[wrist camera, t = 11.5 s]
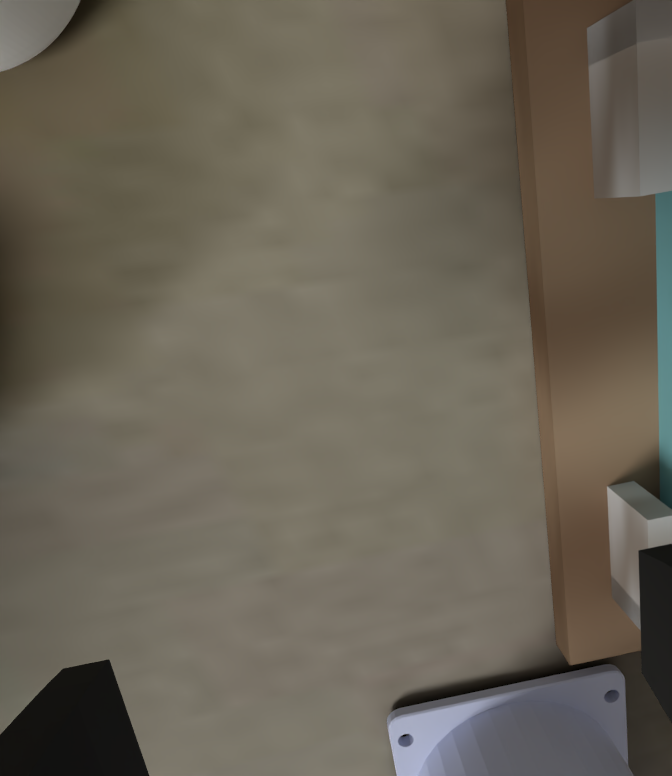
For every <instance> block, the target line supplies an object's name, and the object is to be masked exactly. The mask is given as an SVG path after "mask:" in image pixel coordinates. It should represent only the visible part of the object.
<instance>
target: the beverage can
mask: <svg viewBox="0 0 672 776" xmlns="http://www.w3.org/2000/svg"><path fill="white" fill-rule="evenodd" d="M79 3H80V0H0V72H2V71H5V70H8V69H11V68H14V67H16V66H18V65H20V64H22V63H25V62H26V61H28V60H30V59H32V58H33V57H35V56H36V55H38V54H39V53H40V52H42V51H43V50H44V49H45V48H47V47H48V46H49V45H50V44H51V43H52V42H53V41H54V40H55V39H56V38H57V37H58V36H59V35H60V33H61V32H62V31H63V30H64V28H65V27H66V26H67V24H68V23H69V21H70V20H71V18H72V16H73V15H74V13H75V11H76V9H77V7H78V5H79Z"/></svg>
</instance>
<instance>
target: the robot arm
mask: <svg viewBox="0 0 672 776" xmlns="http://www.w3.org/2000/svg"><path fill="white" fill-rule="evenodd" d="M638 554H639V589H640V624H641V659H642V674H643V675H644V677H645V679H646V681H647V682H648V684H649V686H650V687H651V689H652V691H653V692H654V694H655V696H656V697H657V699H658V701H659V702H660V704H661V706H662V707H663V709H664V711H665V712H666V714H667V716H668V717H669V719H670V720H671V722H672V544H667V545H662V546H658V547H653V548H648V549H643V550H638ZM610 690H611V691H610ZM608 691H610V692H608ZM607 692H608V693H607ZM387 726H388V732H389V737H390V742H391V748H392V753H393V758H394V764H395V769H396V775H397V776H634V775H633V773H632V772H631V770H630V768H629V767H628V744H627V718H626V692H625V678H624V675H623V674H622V673H621V671H620V670H619V669H618V668H617V667H616V666H615V665H612V664H605V665H600V666H595V667H590V668H586V669H581V670H576V671H572V672H567V673H562V674H557V675H553V676H548V677H543V678H539V679H534V680H529V681H525V682H520V683H515V684H510V685H506V686H501V687H496V688H492V689H487V690H482V691H477V692H473V693H468V694H463V695H459V696H454V697H449V698H444V699H440V700H435V701H430V702H426V703H421V704H416V705H412V706H407V707H402V708H398V709H396V710H394V711H392V712H391V713H390V714H389V716H388V718H387ZM404 734H409V735H407V736H405V737H400V736H402V735H404ZM0 776H149V774H148V771H147V768H146V765H145V762H144V759H143V756H142V753H141V751H140V748H139V745H138V742H137V739H136V736H135V733H134V730H133V727H132V724H131V721H130V719H129V716H128V713H127V710H126V707H125V704H124V701H123V698H122V695H121V692H120V690H119V687H118V684H117V681H116V678H115V675H114V672H113V669H112V666H111V663H110V661H109V660H104V661H99V662H94V663H89V664H84V665H79V666H75V667H70V668H65V669H62V670H61V671H60V672H59V673H58V674H57V675H56V676H55V677H54V678H53V679H52V680H51V681H50V682H49V683H48V684H47V685H46V686H45V687H44V688H43V689H42V690H41V691H40V693H39V694H38V695H37V696H36V697H35V698H34V699H33V700H32V701H31V702H30V703H29V704H28V705H27V706H26V707H25V709H24V710H23V711H22V712H21V713H20V714H19V715H18V716H17V717H16V718H15V719H14V720H13V722H12V723H11V724H10V725H9V726H8V727H7V728H6V729H5V730H4V731H3V732H2V734H1V735H0Z"/></svg>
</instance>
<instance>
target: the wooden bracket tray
mask: <svg viewBox="0 0 672 776" xmlns="http://www.w3.org/2000/svg"><path fill="white" fill-rule="evenodd" d="M506 8H507V21H508V33H509V46H510V59H511V72H512V85H513V97H514V110H515V123H516V136H517V148H518V161H519V174H520V187H521V199H522V212H523V225H524V238H525V251H526V263H527V276H528V289H529V302H530V314H531V327H532V340H533V353H534V366H535V378H536V391H537V404H538V417H539V429H540V442H541V455H542V468H543V480H544V493H545V506H546V519H547V532H548V544H549V557H550V570H551V583H552V595H553V608H554V621H555V634H556V644H557V646H558V647H559V649H560V650H561V652H562V654H563V655H564V657H565V658H566V660H567V661H568V663H569V664H570V665H575V664H580V663H585V662H589V661H594V660H599V659H603V658H608V657H613V656H618V655H622V654H627V653H632V652H636V651H641V624H640V589H639V554H638V550H643V549H648V548H653V547H658V546H662V545H667V544H672V509H670V508H669V507H668V506H666V505H665V504H664V503H662V502H661V501H660V467H659V401H658V335H657V269H656V203H655V194H656V193H662V192H667V191H672V0H506Z"/></svg>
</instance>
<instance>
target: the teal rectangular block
mask: <svg viewBox="0 0 672 776" xmlns="http://www.w3.org/2000/svg"><path fill="white" fill-rule="evenodd" d="M655 203H656V269H657V335H658V401H659V467H660V501H661V502H662V503H664V504H665V505H666V506H668V507H669V508H670V509H672V191H667V192H662V193H656V194H655Z"/></svg>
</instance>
